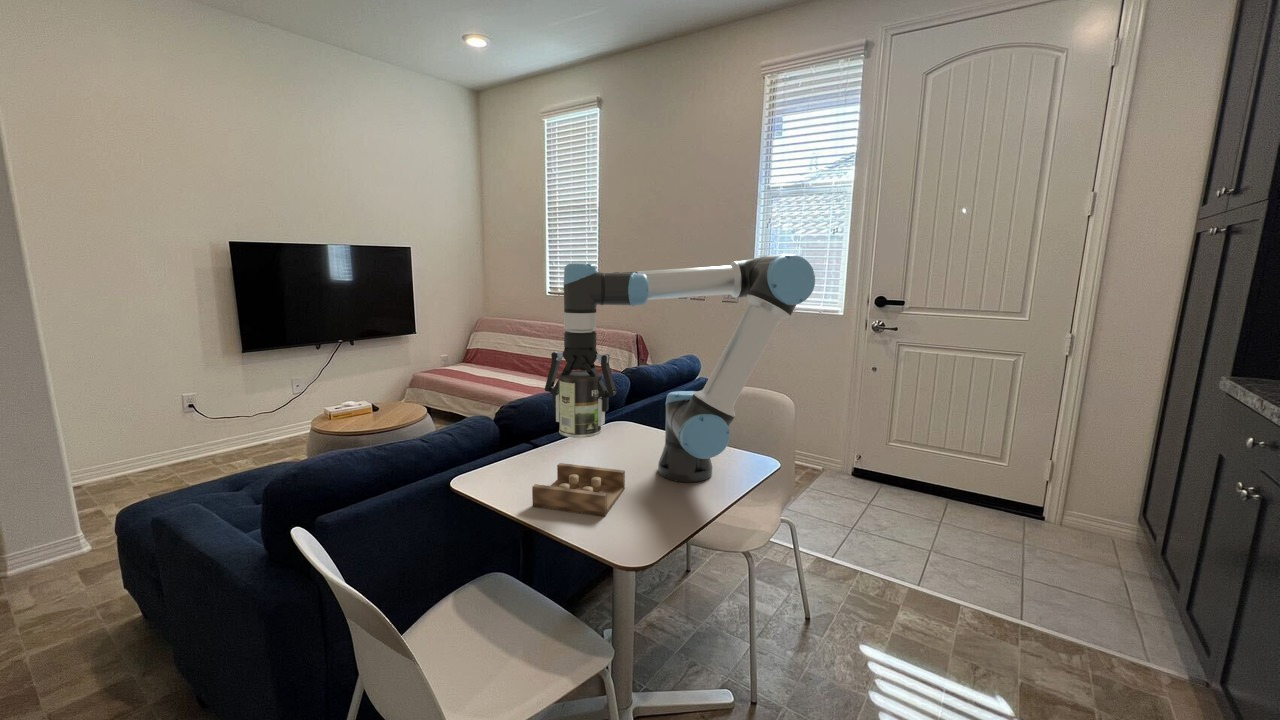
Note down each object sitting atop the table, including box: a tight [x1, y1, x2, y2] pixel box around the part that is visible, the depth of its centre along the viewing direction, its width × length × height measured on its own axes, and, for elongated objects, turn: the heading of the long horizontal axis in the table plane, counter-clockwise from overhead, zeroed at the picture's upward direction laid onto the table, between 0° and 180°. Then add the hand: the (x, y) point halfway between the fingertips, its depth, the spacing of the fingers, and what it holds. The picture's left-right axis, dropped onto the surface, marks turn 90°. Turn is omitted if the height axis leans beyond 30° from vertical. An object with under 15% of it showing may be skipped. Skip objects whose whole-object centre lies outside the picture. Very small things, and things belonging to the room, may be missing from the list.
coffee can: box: [557, 370, 603, 439], centre depth 124 cm, size 10×10×14 cm
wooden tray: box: [531, 462, 626, 518], centre depth 128 cm, size 18×16×5 cm
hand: (580, 422), depth 125 cm, fingers closed on coffee can, 10 cm apart
